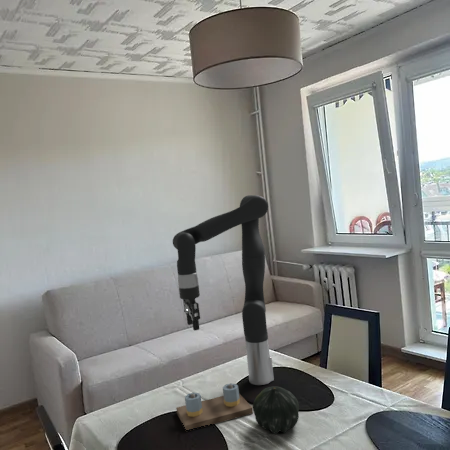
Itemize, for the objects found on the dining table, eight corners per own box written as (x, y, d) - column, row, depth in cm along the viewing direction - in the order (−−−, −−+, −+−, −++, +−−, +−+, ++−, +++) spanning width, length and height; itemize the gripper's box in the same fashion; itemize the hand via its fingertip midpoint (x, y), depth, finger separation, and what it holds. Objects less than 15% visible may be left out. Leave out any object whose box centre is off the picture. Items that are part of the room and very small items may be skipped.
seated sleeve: (236, 398, 163) (234, 382, 163) (241, 404, 159) (239, 387, 158) (222, 401, 162) (221, 385, 161) (227, 407, 157) (225, 391, 156)
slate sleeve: (199, 407, 159) (197, 391, 159) (203, 414, 154) (202, 397, 154) (185, 411, 157) (183, 394, 157) (189, 417, 152) (187, 401, 152)
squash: (273, 393, 157) (255, 373, 148) (311, 404, 148) (294, 383, 139) (258, 432, 150) (238, 414, 141) (297, 447, 141) (278, 428, 132)
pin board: (238, 397, 169) (236, 374, 168) (252, 413, 155) (250, 388, 155) (176, 412, 161) (174, 389, 160) (186, 431, 148) (183, 405, 147)
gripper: (203, 286, 162) (208, 329, 163) (193, 280, 176) (197, 320, 177) (183, 290, 160) (188, 334, 161) (174, 283, 173) (179, 324, 174)
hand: (193, 327), depth 169 cm, fingers open, 8 cm apart
